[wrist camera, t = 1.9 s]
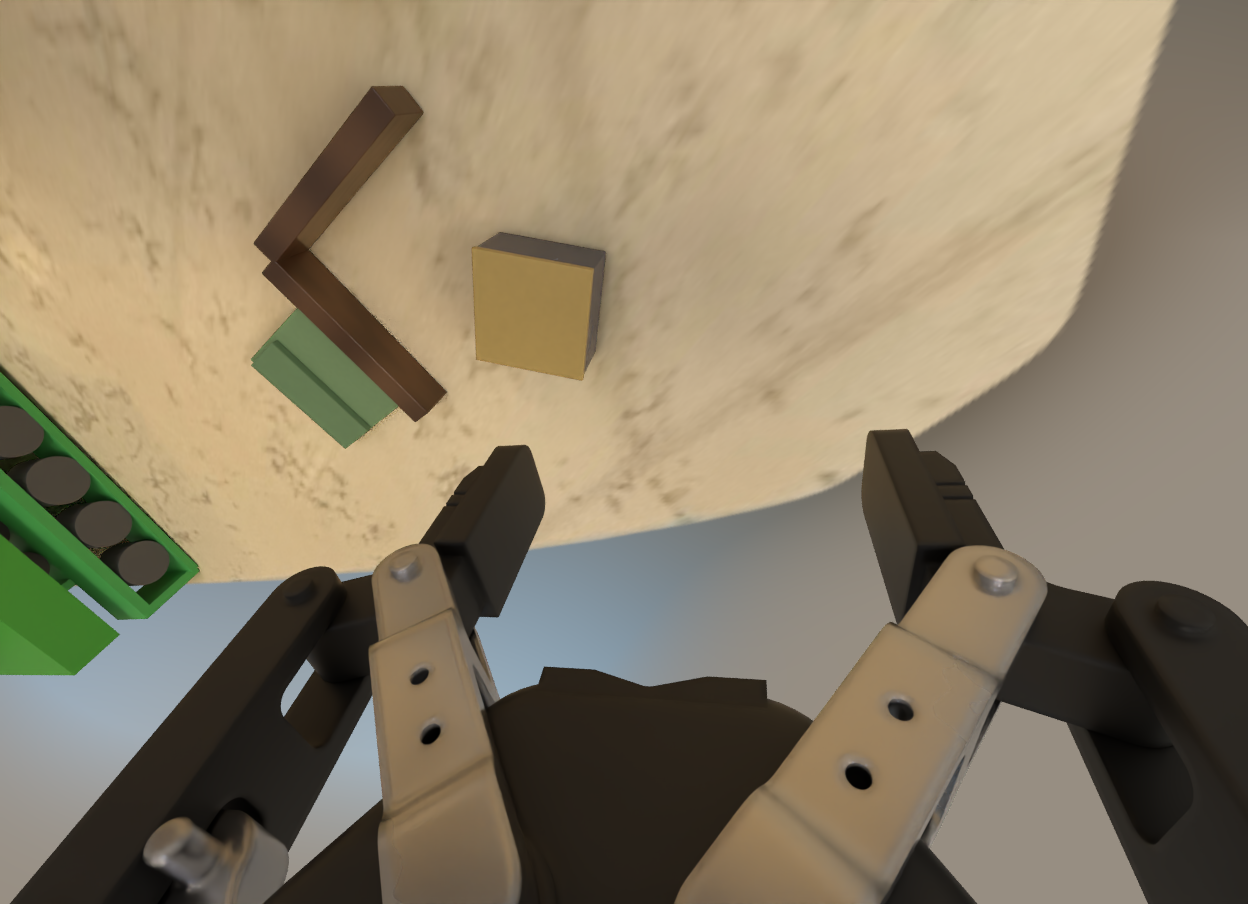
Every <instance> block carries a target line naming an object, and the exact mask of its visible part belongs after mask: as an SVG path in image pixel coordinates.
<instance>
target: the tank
mask: <svg viewBox="0 0 1248 904" xmlns="http://www.w3.org/2000/svg"><path fill="white" fill-rule="evenodd" d="M31 452H33V453H34V454H35V455H36V456H37V457H38V458H39V459H35V460H29V461H25V462H22V463H20V464H17V465H16V466H14V467H13V468H12V469H11V470H10V471H9V472H8V473H7V474H6V473H4V472H3V471H2V470H1V469H0V675H76V674H77V673H78V672H79V671H80V670H81V669H82V668H83V667H84V666H86V665H87V664H88V663H89V662H90V661H91V660H92V659H93V658H94V657H95V656H97V655H98V654H99V653H100V652H101V651H102V650H103V649H104V648H105V647H106V646H108V645H109V644H110V643H111V642H112V641H113V640H114V639H115V638H116V637H118V636H119V633H117V632H116V631H115V630H114V629H113V628H111V627H110V626H109V625H108V624H107V623H105V622H104V621H103V620H102V619H101V618H100V617H98V616H97V615H96V614H95V613H94V612H92V611H91V610H90V609H89V608H88V607H86V606H85V605H84V604H83V603H81V602H80V601H79V600H78V599H77V598H75V596H73V595H72V594H71V593H70V592H68V590H69V589H70V588H72V587H73V586H74V585H78V586H79V587H80V588H81V589H82V590H83V591H85V592H86V593H87V594H88V595H89V596H90V597H92V598H93V599H94V600H95V601H96V602H97V603H99V604H100V605H101V606H102V607H104V609H106V610H107V611H108V612H109V613H110V614H111V615H113V616H114V617H115V618H116V619H117V620H124V619H148V618H149V617H150V616H151V615H152V614H153V613H154V612H155V611H157V610H158V609H159V608H160V607H161V606H162V605H163V604H164V603H165V602H166V601H167V600H169V599H170V598H171V597H172V596H173V595H174V594H175V593H176V592H177V591H178V590H179V589H181V588H182V587H183V586H184V585H185V584H186V583H187V582H188V581H189V580H190V579H191V578H193V577H194V576H195V575H196V574H197V573H198V572H199V570H198V568H197V567H198V566H197V565H196V564H195V563H194V562H193V561H192V560H191V559H190V558H189V557H188V556H187V555H186V554H185V553H184V552H183V551H182V550H181V549H180V548H179V547H178V546H177V545H176V544H175V543H174V542H173V541H172V540H171V539H170V538H169V537H168V536H167V535H166V534H165V533H164V532H163V531H162V530H161V529H160V528H159V527H158V526H157V525H156V524H155V523H154V522H153V521H152V520H151V519H150V518H149V517H148V516H147V515H146V514H145V513H143V512H142V511H141V510H140V509H139V508H138V507H137V506H136V505H135V504H134V503H133V502H132V501H131V500H130V499H129V498H128V497H127V496H126V495H125V494H124V493H123V492H122V491H121V490H120V489H119V488H118V487H117V486H116V485H115V484H114V483H113V482H112V481H111V480H110V479H109V478H108V477H107V476H106V475H105V474H104V473H103V472H102V471H101V470H100V469H99V468H98V467H97V466H96V465H95V464H94V463H93V462H92V461H91V460H89V459H88V458H87V457H86V456H85V455H84V454H83V453H82V452H81V451H80V450H79V449H78V448H77V447H76V446H75V445H74V444H73V443H72V442H71V441H70V440H69V439H68V438H67V437H66V436H65V435H64V434H63V433H62V432H61V431H60V430H59V429H58V428H57V427H56V426H55V425H54V424H53V423H52V422H51V421H50V420H49V419H48V418H47V417H46V416H45V415H44V414H43V413H42V412H41V411H40V410H39V409H38V408H37V407H35V406H34V405H33V404H32V403H31V402H30V401H29V400H28V399H27V398H26V397H25V396H24V395H23V394H22V393H21V392H20V391H19V390H18V389H17V388H16V387H15V386H14V385H13V384H12V383H11V382H10V381H9V380H8V379H7V378H6V377H5V376H4V375H3V374H2V373H1V372H0V460H3V459H8V458H14V457H19V456H24V455H27V454H29V453H31ZM81 497H82V498H83V499H84V500H85V501H86V502H87V503H83V504H76V505H73V506H70V507H68V508H66V509H64V510H63V511H62V512H61V513H60V514H59V515H58V516H57V518H56V519H55V518H54V517H53V516H52V515H50V514H49V513H48V512H47V511H46V510H45V509H44V508H43V507H48V506H56V505H63V504H69V503H72V502H75V501H77V500H78V499H80V498H81ZM124 538H126V539H127V540H128V541H129V542H127V543H120V544H117V543H119V542H121V541H122V540H123V539H124ZM115 544H116V545H115ZM112 545H114V546H112ZM108 546H112V547H110V548H108V549H107V550H106V551H105V552H104V553H103V554H102V555H101V557H100V559H99V558H97V557H96V556H95V555H94V554H93V553H92V552H91V551H90V550H89V549H88V548H99V547H108ZM137 585H144V586H143V587H142V588H141V589H139V590H138V591H137V592H135V591H134V590H133V589H131V588H130V587H129V586H137Z"/></svg>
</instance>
